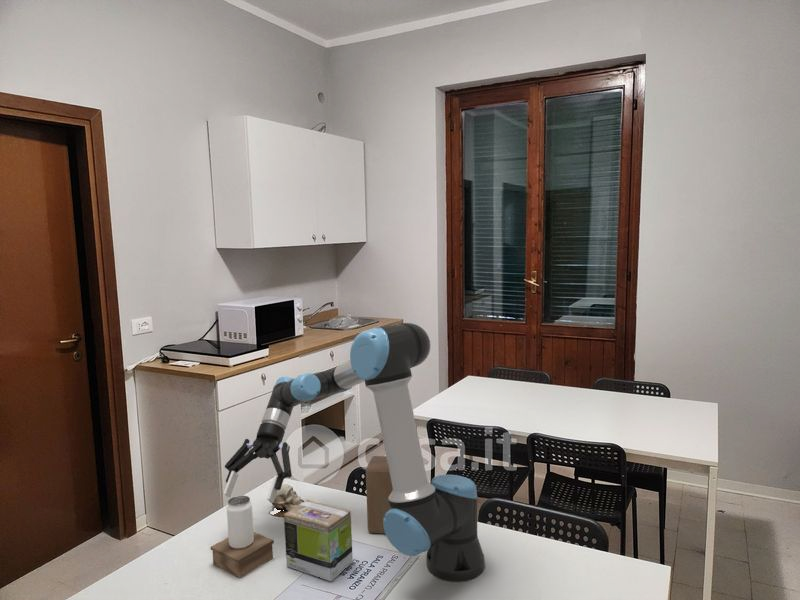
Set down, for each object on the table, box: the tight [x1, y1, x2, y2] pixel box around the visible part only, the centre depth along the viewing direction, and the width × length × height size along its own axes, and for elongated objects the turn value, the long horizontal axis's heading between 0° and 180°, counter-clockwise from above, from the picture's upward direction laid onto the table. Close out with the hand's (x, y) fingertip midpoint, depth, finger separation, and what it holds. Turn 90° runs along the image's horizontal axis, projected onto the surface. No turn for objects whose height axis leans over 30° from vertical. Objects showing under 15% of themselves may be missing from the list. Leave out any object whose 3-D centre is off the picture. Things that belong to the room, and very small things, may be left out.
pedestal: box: [210, 531, 275, 579], centre depth 152 cm, size 12×12×5 cm
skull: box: [271, 483, 306, 517], centre depth 182 cm, size 12×10×10 cm
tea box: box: [283, 499, 353, 582], centre depth 149 cm, size 15×10×15 cm
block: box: [365, 455, 393, 535], centre depth 168 cm, size 10×10×20 cm
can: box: [226, 495, 254, 549], centre depth 151 cm, size 6×6×12 cm
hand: (247, 498), depth 155 cm, fingers open, 13 cm apart
